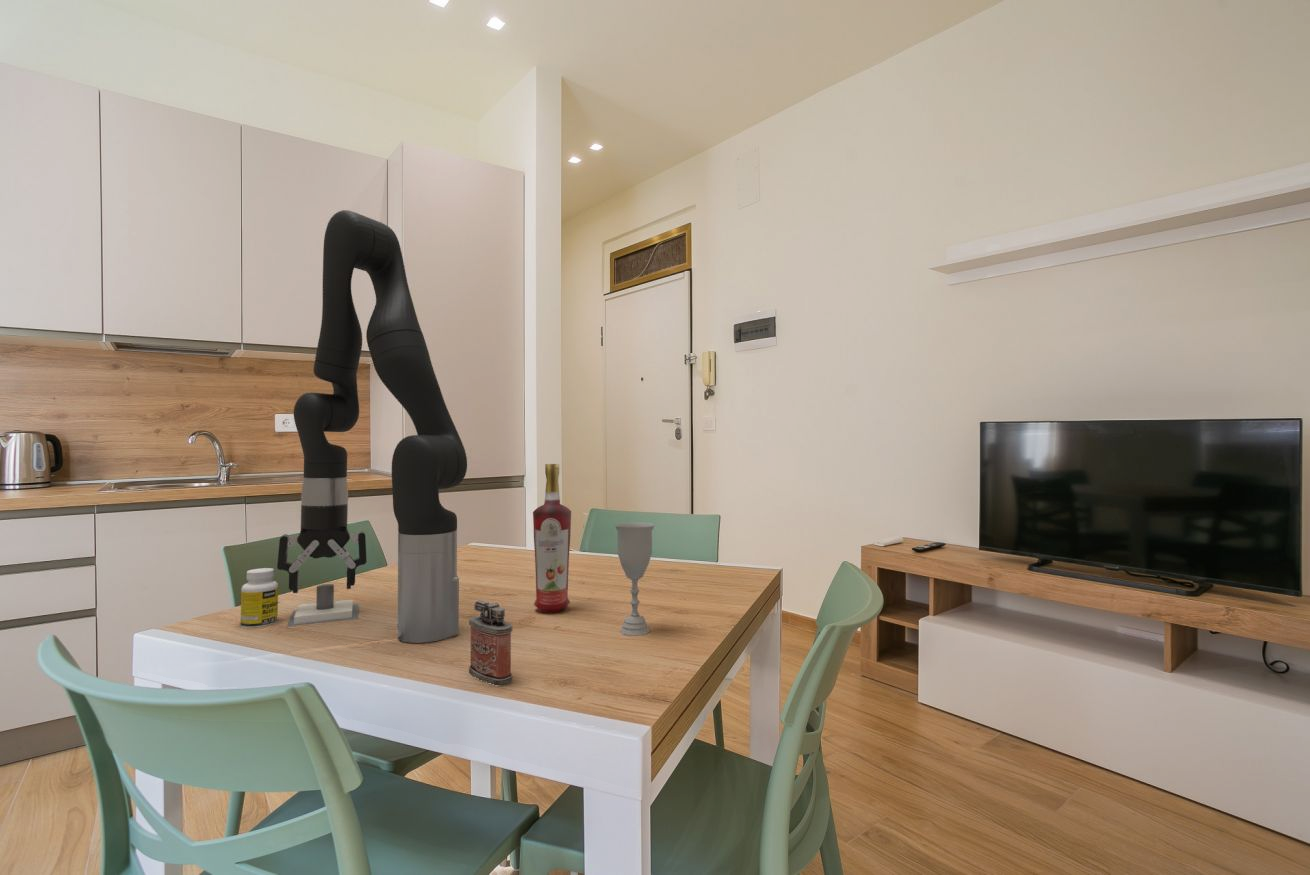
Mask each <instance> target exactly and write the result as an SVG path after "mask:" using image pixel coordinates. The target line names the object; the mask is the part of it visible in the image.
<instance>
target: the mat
mask: <svg viewBox="0 0 1310 875" xmlns="http://www.w3.org/2000/svg"><path fill="white" fill-rule="evenodd" d="M359 608H360V604H359V603H353V612H352V618H343V619H334V620H325V621H316V622H307V623H298V624H294V616H295V613H296V611H297V609H294V610H292V612H291V615H290V617H289V620H288V622H287V624H286V627H287V628H288V627H296V626H305V625H313V624H322V623H330V622H338V621H339V622H340V621H341V622H342V621H347V620H358V619H359Z"/></svg>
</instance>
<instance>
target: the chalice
mask: <svg viewBox="0 0 1310 875" xmlns="http://www.w3.org/2000/svg"><path fill="white" fill-rule="evenodd" d="M655 524H656V523H655ZM655 524H654V523H651V522H642V521H641V522H639V521H638V522H637V521H636V522H635V521H634V522H633V521H632V522H630V521H629V522H619V523H616V524H614V526H615V529H616V531H617V556H618V559H619V562H620V566H621V567H622V570H623V572H624V574H625V576H626V578H627V579H629V580H631V584H632V585H631V589H630V593H631V600H630V601H629V604H630V605H631V608H632V609H631V613H629V615H627V616H626V617H625V619H624V620H623V623H622V624H621V625H622V627H621V628H620V630H619V632H620V633H621V634H623V635H627V636H642V635H646V634H648V633H650V628H649V626H648V623H647V622H646V621H647V620H646V618H645V617H644V616H643V615H640V612H638V606H639V604H640V602H641V601H640V600H639V598H638V596H639V593H640V589H639V587H638V582H639V580H640V579H642V578H643V577H644V575H645V573H646V571H647V569H648V566H649V564H650V560H651V557H652V555H653V530H654V528H655Z"/></svg>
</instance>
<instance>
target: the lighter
mask: <svg viewBox="0 0 1310 875" xmlns="http://www.w3.org/2000/svg"><path fill="white" fill-rule="evenodd" d="M474 611H476V612H479V613H480V615H474V616H471V617H469V620H468V621H469V622H468V625H470V664H469V665H468V673H470V674H471V675H470V674H469V675H470V676H472V677H473V676H474V677H476V678H478V679H479V680H482V681H484V682H487V683H491V684H494V685H504V686H507V685H506V684H508V685H510V684H511V683H512V682H513V673H511V671H512V670H511V667H512V666H511V665H512V663H511V661H512V660H511V659H512V658H511V656H512V651H511V650H512V645H511V644H512V640H511V639H512V638H511V637H512V635H511V634H512V632H513V624H512V623H510V622H509V621H507V620H505V615H506V614H505V612H506V611H505V608H503V607H500V604H499V603H498V602H492V603H489V602H487V601H484V600H480V599H478V600H476V601H475V602H474ZM474 677H473V678H474ZM476 678H475V679H476ZM478 679H477V680H478ZM479 680H478V681H479ZM482 681H481V682H482ZM484 682H483V683H484ZM487 683H486V684H487ZM509 683H510V684H509ZM491 684H490V685H491ZM494 685H493V686H494Z"/></svg>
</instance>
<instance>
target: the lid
mask: <svg viewBox="0 0 1310 875" xmlns="http://www.w3.org/2000/svg"><path fill="white" fill-rule="evenodd" d="M353 604H354V599H344V600H335V584H333V583H331V584H330V583H324V584H319V585H316V602H314V603H303V604H298V607H297V609H296V610H297V611H296V613H295V616H294V624H298V623H307V622H316V621H325V620H334V619H343V618H352V612H353Z"/></svg>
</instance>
